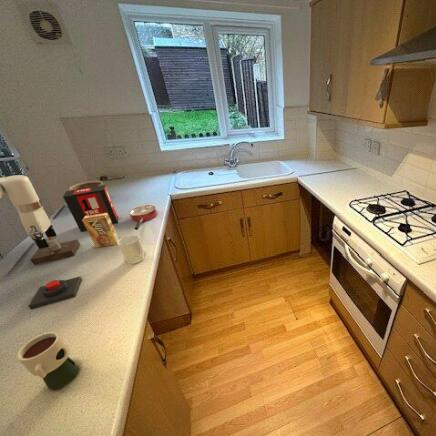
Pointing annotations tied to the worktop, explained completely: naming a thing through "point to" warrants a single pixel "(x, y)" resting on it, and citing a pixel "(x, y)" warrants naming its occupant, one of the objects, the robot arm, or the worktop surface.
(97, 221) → the candy box
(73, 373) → the character mug
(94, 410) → the worktop surface
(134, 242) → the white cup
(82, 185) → the cooking pot
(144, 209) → the frying pan
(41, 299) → the button block
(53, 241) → the tap knob
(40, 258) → the base
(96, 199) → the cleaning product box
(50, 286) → the button
